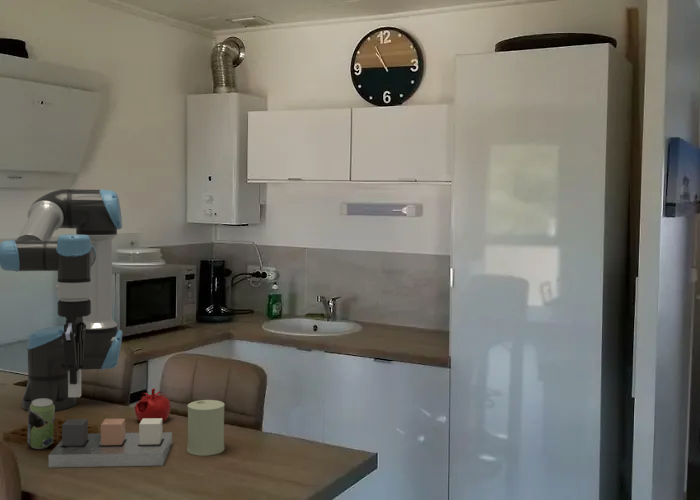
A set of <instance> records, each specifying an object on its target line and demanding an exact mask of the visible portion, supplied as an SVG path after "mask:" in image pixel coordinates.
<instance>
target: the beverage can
mask: <svg viewBox="0 0 700 500" xmlns="http://www.w3.org/2000/svg"><path fill="white" fill-rule="evenodd" d="M55 415H56V414H55V406H54V404H53V401H52V400H50V399H46V398H40V399H35V400H33V401H32V404H31V405H30V406H29V411H28V417H27V439H26V441H27V442H26V444H27V445H28V446H29V447H31V448H32V449H35V450H36V449H37V450H43V449H46V448H48V447H50V446H51V445H52V444H53V443H54V434H55V433H54V432H55V430H54V429H55Z"/></svg>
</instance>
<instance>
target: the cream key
mask: <svg viewBox="0 0 700 500" xmlns="http://www.w3.org/2000/svg"><path fill="white" fill-rule="evenodd" d="M139 422H140V423H138V426H139V428H138V429H139V431H138V433H139V445H145V444H160V442H161V440H162V432H163V422H162V418H143V419H142V420H141V421H139Z"/></svg>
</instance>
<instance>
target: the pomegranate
mask: <svg viewBox="0 0 700 500" xmlns="http://www.w3.org/2000/svg"><path fill="white" fill-rule="evenodd" d="M155 392H156V388H152V389H151V394H149V393H147V392H142V396H141V397H140V400H139V401H138V402H136V404H135V405H134V412H135V416H136V418H137V420H138V421H139V422H141V420H142V419H143V418H162V423H164V422H166V420H167V419H168V418H169V416H170V412H171V408H172V405H171V402H170V399H169V398H167V396H168V395H166V394H163V392H162V391H158V392H156V393H155ZM160 393H161V394H160ZM143 394H144V395H143Z"/></svg>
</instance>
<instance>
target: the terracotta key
mask: <svg viewBox="0 0 700 500" xmlns="http://www.w3.org/2000/svg"><path fill="white" fill-rule="evenodd" d="M100 433H101V445H122V443H123V442H124V440H125V433H126V418H104V420H103V421H102V423H101V424H100Z"/></svg>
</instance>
